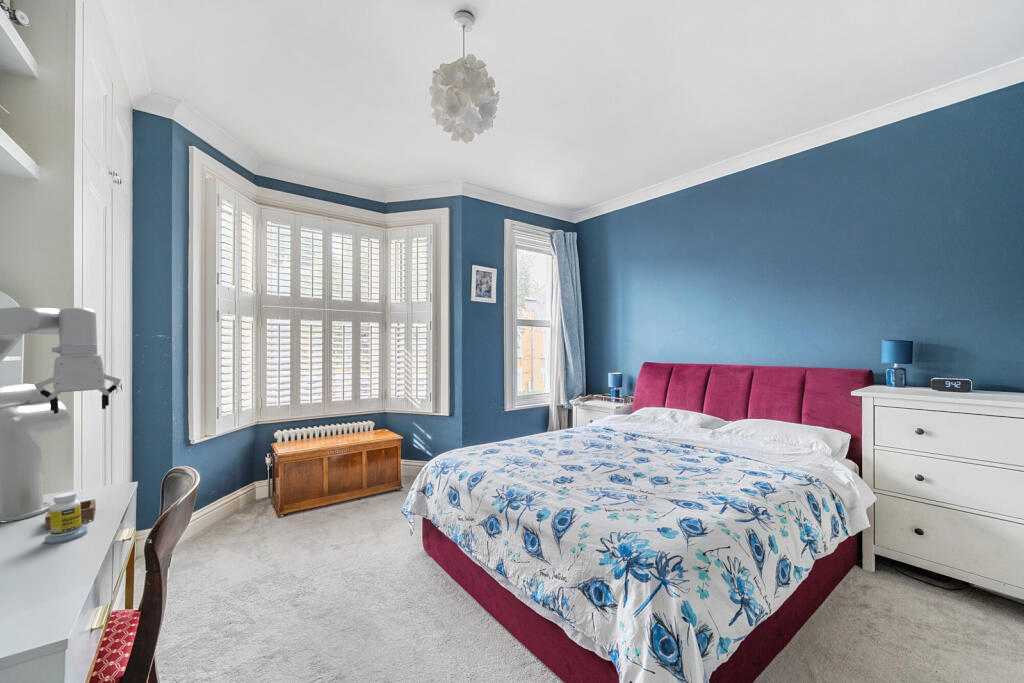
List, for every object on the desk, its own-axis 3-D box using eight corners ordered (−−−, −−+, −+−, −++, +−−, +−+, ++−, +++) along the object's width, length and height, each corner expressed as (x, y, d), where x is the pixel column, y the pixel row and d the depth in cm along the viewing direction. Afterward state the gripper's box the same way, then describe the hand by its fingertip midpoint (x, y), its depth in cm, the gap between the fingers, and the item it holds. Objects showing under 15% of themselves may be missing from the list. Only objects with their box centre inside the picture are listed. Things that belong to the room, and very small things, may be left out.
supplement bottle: (61, 538, 106) (60, 499, 106) (45, 536, 107) (43, 498, 107) (87, 528, 111) (85, 491, 111) (71, 527, 112) (69, 490, 112)
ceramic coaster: (35, 545, 104) (35, 541, 104) (61, 532, 112) (61, 528, 112) (72, 541, 106) (72, 537, 106) (94, 528, 113) (94, 525, 113)
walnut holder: (50, 520, 120) (50, 507, 120) (95, 510, 126) (95, 499, 126) (45, 530, 113) (45, 517, 113) (93, 520, 119) (93, 507, 119)
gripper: (31, 352, 113) (33, 416, 113) (119, 350, 125) (121, 408, 125) (36, 352, 119) (38, 413, 119) (120, 350, 130) (121, 405, 131)
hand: (80, 410), depth 122 cm, fingers open, 9 cm apart
